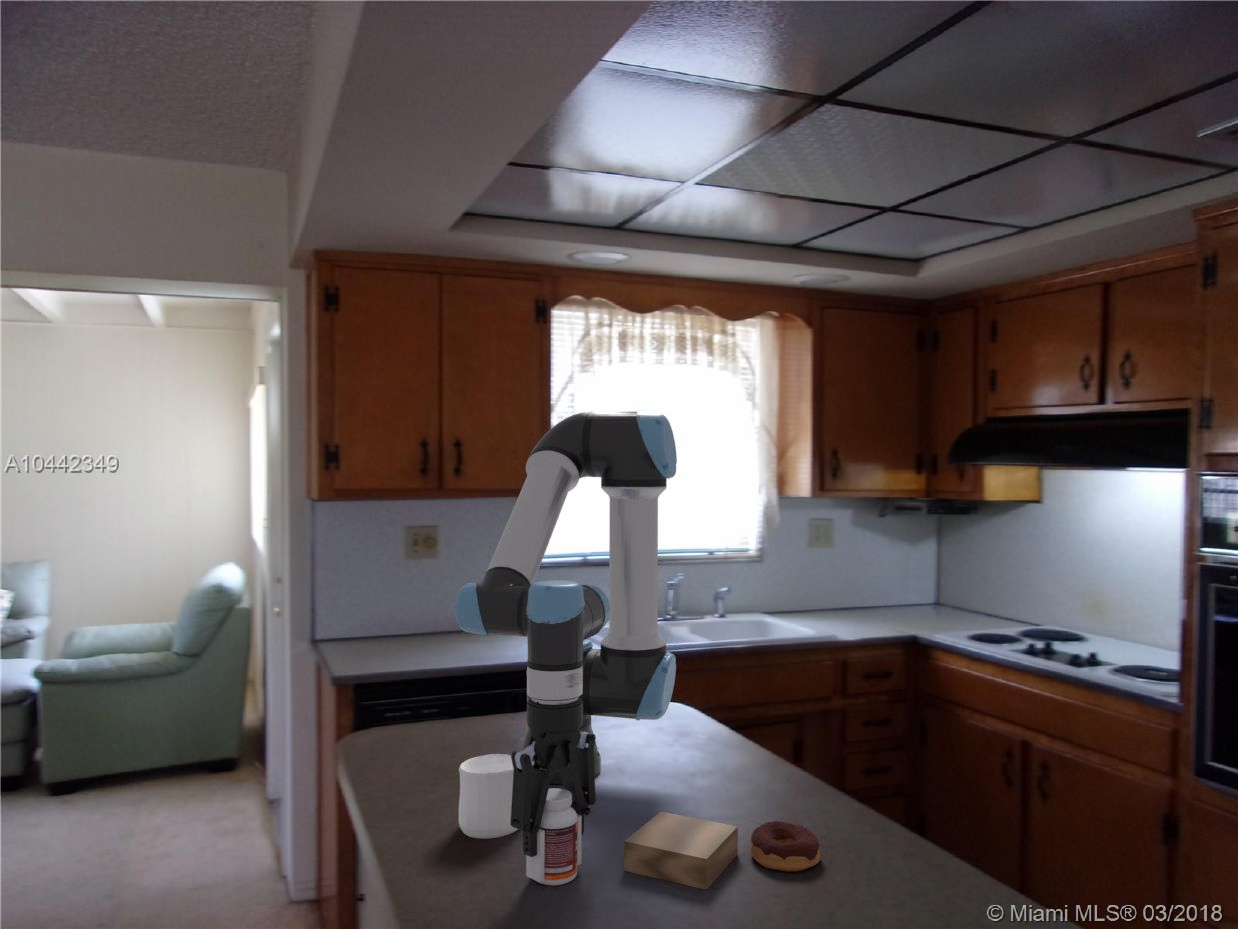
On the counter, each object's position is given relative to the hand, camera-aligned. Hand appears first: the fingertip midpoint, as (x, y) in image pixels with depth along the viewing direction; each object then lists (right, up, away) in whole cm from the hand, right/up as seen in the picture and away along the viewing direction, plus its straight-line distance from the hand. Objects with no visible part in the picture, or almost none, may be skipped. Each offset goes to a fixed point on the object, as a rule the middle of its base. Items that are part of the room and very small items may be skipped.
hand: (554, 869), depth 121 cm
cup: (-11, -1, +16) cm, 20 cm away
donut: (+32, -2, +6) cm, 33 cm away
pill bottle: (0, -1, 0) cm, 1 cm away
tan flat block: (+17, -1, +4) cm, 18 cm away
